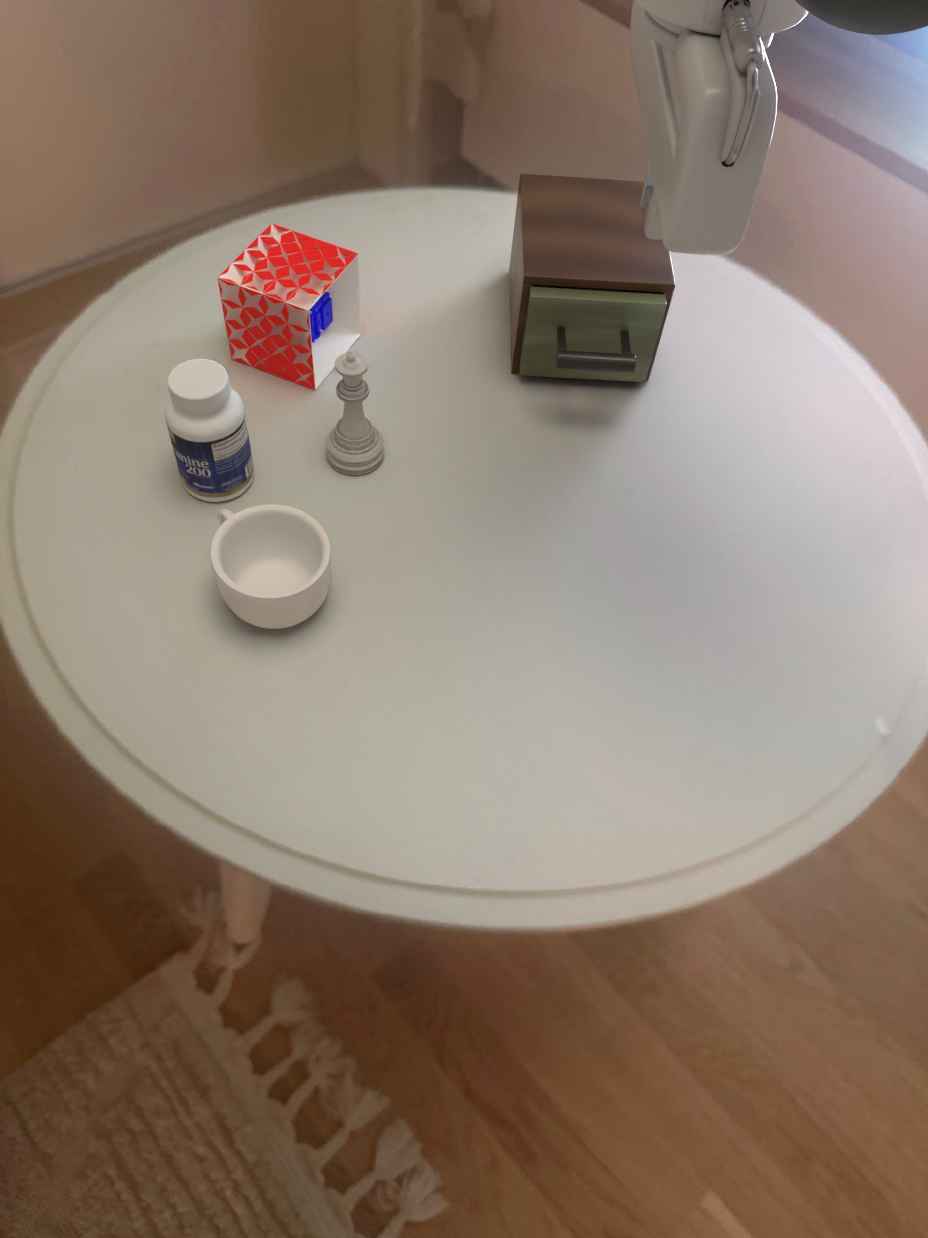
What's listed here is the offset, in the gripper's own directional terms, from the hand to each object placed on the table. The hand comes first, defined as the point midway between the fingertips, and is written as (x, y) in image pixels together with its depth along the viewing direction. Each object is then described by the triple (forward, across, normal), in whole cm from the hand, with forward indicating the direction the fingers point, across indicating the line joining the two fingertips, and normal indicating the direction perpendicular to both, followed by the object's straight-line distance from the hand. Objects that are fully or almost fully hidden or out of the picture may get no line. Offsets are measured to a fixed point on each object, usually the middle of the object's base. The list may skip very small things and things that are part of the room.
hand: (656, 224), depth 56 cm
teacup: (+23, -10, +23) cm, 34 cm away
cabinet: (+23, +20, 0) cm, 31 cm away
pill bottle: (+23, 0, +28) cm, 36 cm away
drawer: (+22, +16, 0) cm, 27 cm away
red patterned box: (+23, +15, +24) cm, 37 cm away
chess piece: (+23, +3, +18) cm, 30 cm away
